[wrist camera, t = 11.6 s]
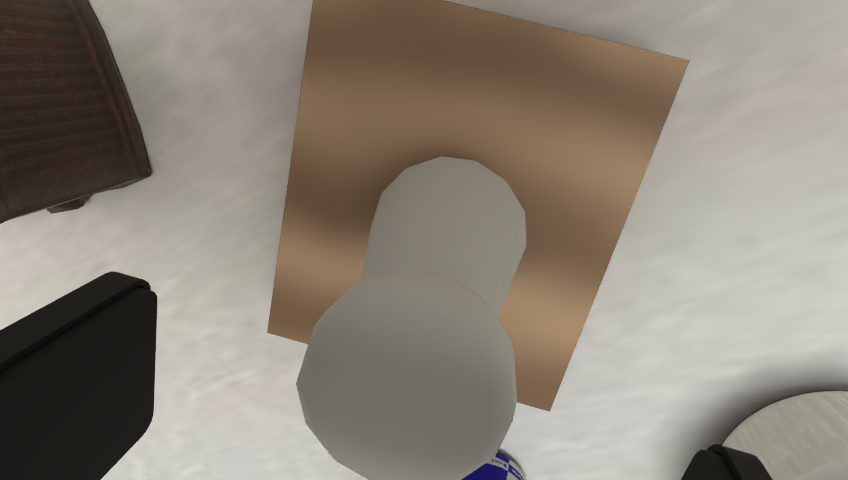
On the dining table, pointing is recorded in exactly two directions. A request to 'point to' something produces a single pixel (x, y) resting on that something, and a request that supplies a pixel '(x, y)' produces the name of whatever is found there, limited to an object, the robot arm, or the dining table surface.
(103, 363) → the robot arm
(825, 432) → the ramekin
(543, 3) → the dining table surface
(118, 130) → the coffee grinder
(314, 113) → the block
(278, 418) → the dining table surface
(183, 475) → the dining table surface
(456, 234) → the salt shaker
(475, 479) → the beverage can
